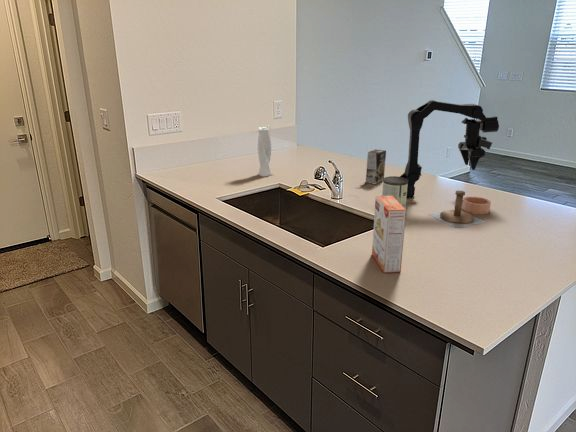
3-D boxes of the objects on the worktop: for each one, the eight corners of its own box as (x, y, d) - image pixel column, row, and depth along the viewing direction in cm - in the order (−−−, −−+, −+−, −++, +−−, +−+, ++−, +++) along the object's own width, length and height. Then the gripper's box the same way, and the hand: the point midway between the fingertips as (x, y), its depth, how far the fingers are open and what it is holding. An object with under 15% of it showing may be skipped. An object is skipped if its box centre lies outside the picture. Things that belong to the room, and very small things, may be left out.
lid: (447, 224, 177) (451, 197, 173) (435, 213, 189) (438, 187, 185) (479, 223, 178) (483, 196, 174) (465, 212, 190) (468, 186, 186)
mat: (455, 228, 174) (455, 227, 174) (427, 215, 188) (427, 214, 187) (486, 222, 180) (486, 221, 180) (457, 210, 194) (457, 209, 194)
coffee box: (376, 184, 231) (378, 153, 225) (365, 182, 234) (367, 151, 229) (384, 180, 237) (386, 150, 232) (373, 178, 241) (375, 148, 235)
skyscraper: (275, 176, 246) (275, 124, 236) (263, 178, 242) (262, 125, 232) (267, 172, 252) (267, 122, 243) (255, 175, 248) (253, 123, 238)
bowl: (468, 215, 188) (470, 205, 187) (457, 206, 198) (458, 196, 197) (494, 214, 189) (495, 204, 187) (481, 206, 199) (483, 196, 198)
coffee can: (382, 206, 199) (384, 175, 194) (406, 208, 196) (409, 177, 191) (378, 213, 190) (381, 181, 185) (403, 216, 186) (407, 183, 181)
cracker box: (370, 254, 152) (374, 195, 145) (388, 253, 152) (393, 194, 145) (382, 273, 139) (387, 209, 131) (401, 273, 139) (407, 209, 132)
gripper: (499, 136, 191) (495, 171, 197) (483, 128, 209) (480, 161, 214) (472, 137, 192) (469, 172, 197) (458, 130, 209) (456, 162, 215)
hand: (469, 167), depth 206 cm, fingers open, 9 cm apart
